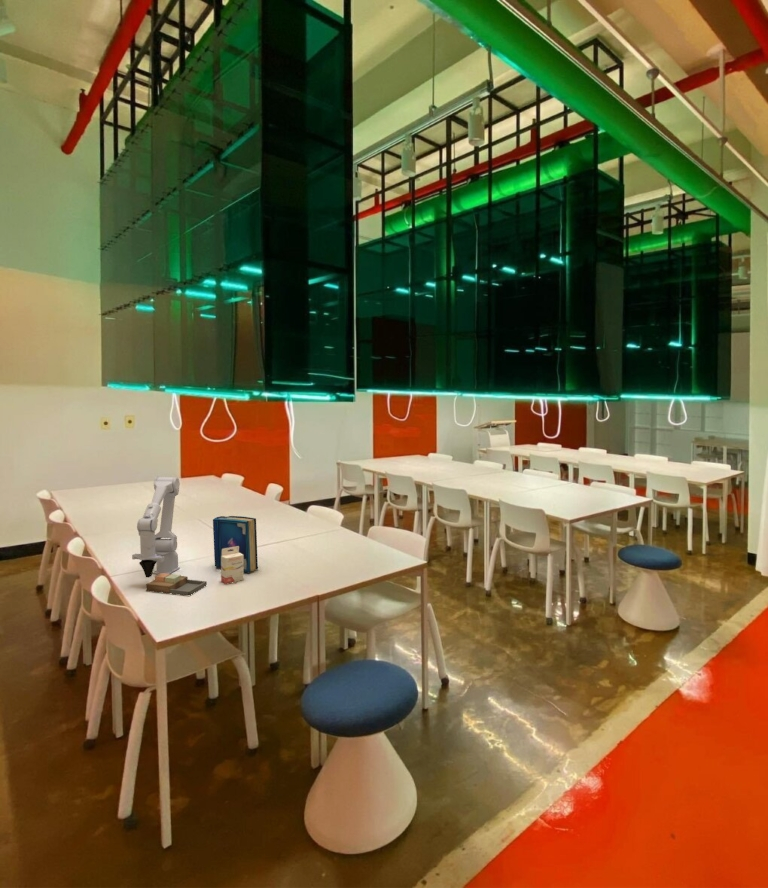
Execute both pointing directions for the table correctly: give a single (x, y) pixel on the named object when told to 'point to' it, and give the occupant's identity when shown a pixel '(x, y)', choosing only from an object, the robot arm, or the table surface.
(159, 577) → the tile
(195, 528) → the table surface
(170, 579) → the tile
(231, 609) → the table surface
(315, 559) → the table surface
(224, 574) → the ink cartridge box
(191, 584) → the tray
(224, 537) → the book
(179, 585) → the plate
